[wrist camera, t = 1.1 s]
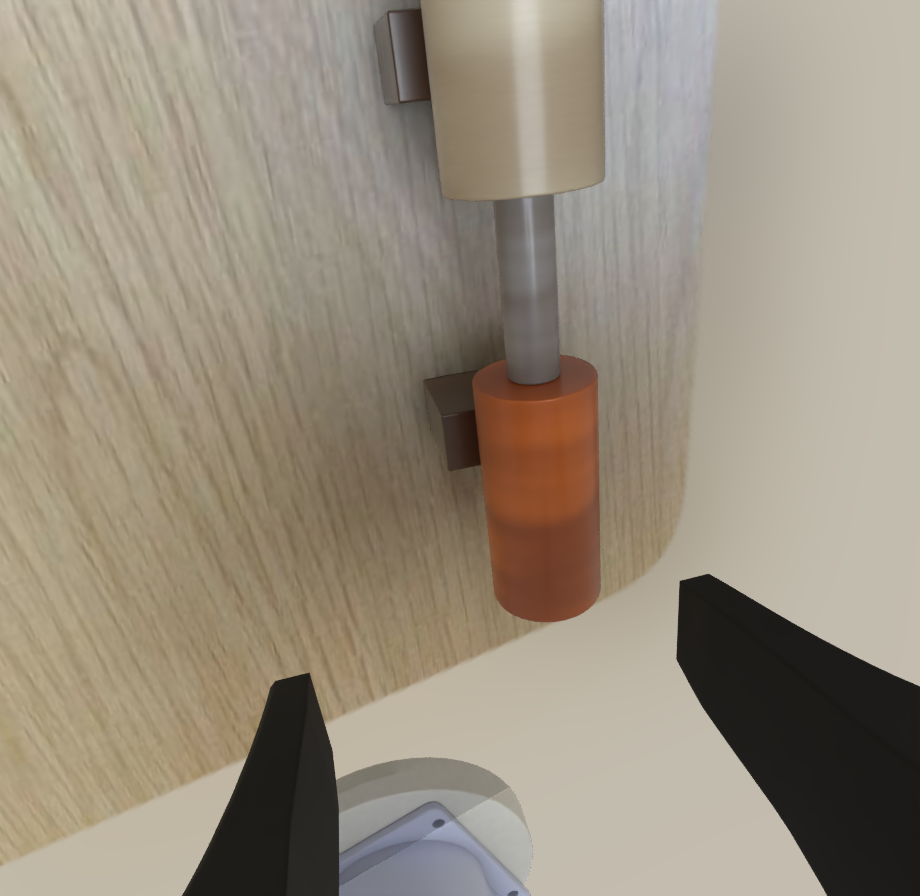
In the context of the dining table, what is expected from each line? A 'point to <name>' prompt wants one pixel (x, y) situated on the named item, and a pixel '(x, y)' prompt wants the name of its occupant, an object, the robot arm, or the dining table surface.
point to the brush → (528, 276)
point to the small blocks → (405, 84)
